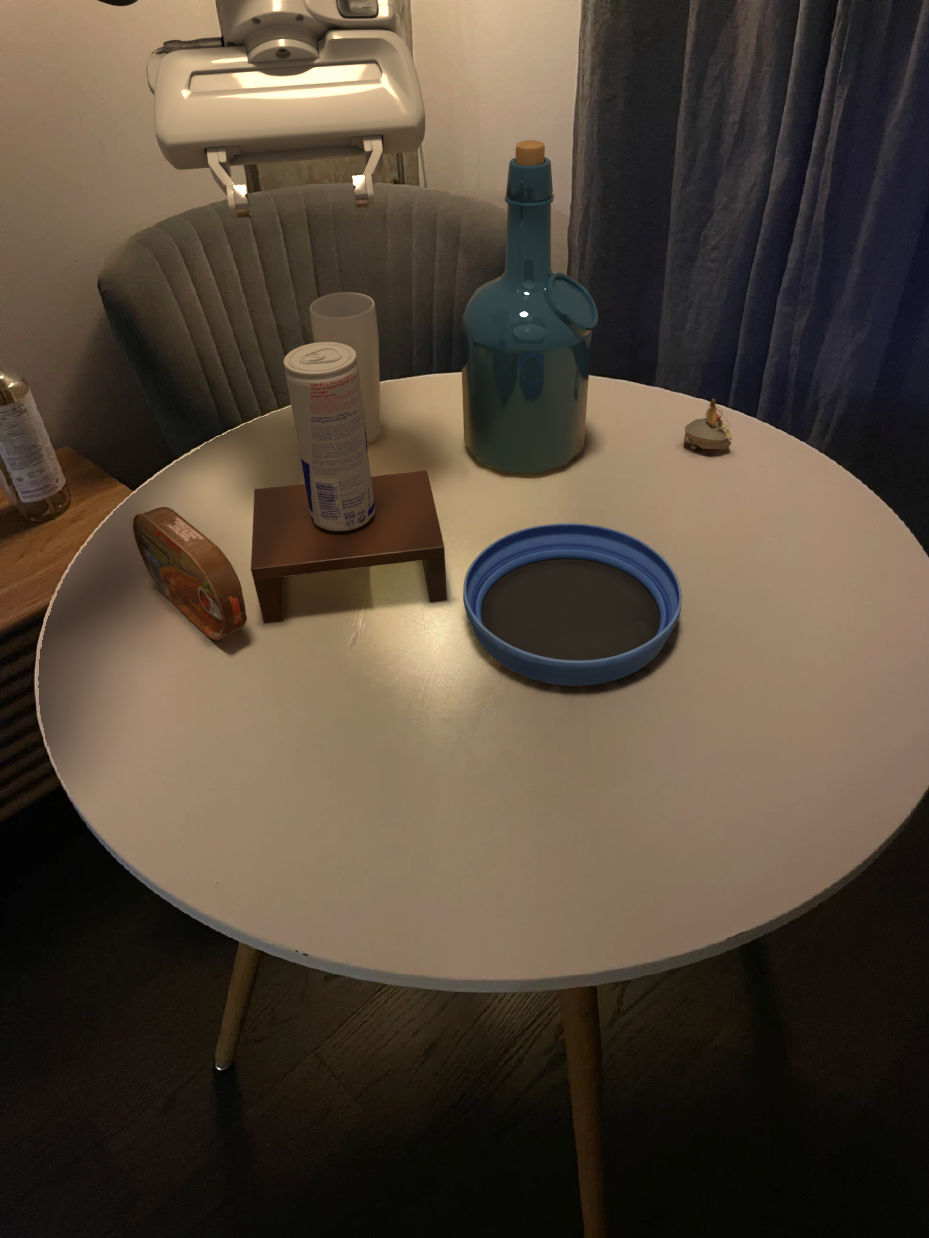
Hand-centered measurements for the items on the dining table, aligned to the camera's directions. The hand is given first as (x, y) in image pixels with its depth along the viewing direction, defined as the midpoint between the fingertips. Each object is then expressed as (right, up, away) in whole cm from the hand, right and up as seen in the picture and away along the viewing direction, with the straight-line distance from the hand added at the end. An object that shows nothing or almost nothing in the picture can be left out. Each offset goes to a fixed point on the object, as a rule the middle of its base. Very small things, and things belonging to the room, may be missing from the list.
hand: (303, 209), depth 67 cm
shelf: (+2, -27, +14) cm, 30 cm away
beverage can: (+2, -22, +10) cm, 25 cm away
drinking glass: (0, -11, +32) cm, 34 cm away
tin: (-11, -30, +11) cm, 34 cm away
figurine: (+38, -13, +28) cm, 49 cm away
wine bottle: (+19, -13, +29) cm, 37 cm away
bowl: (+21, -31, +9) cm, 39 cm away
